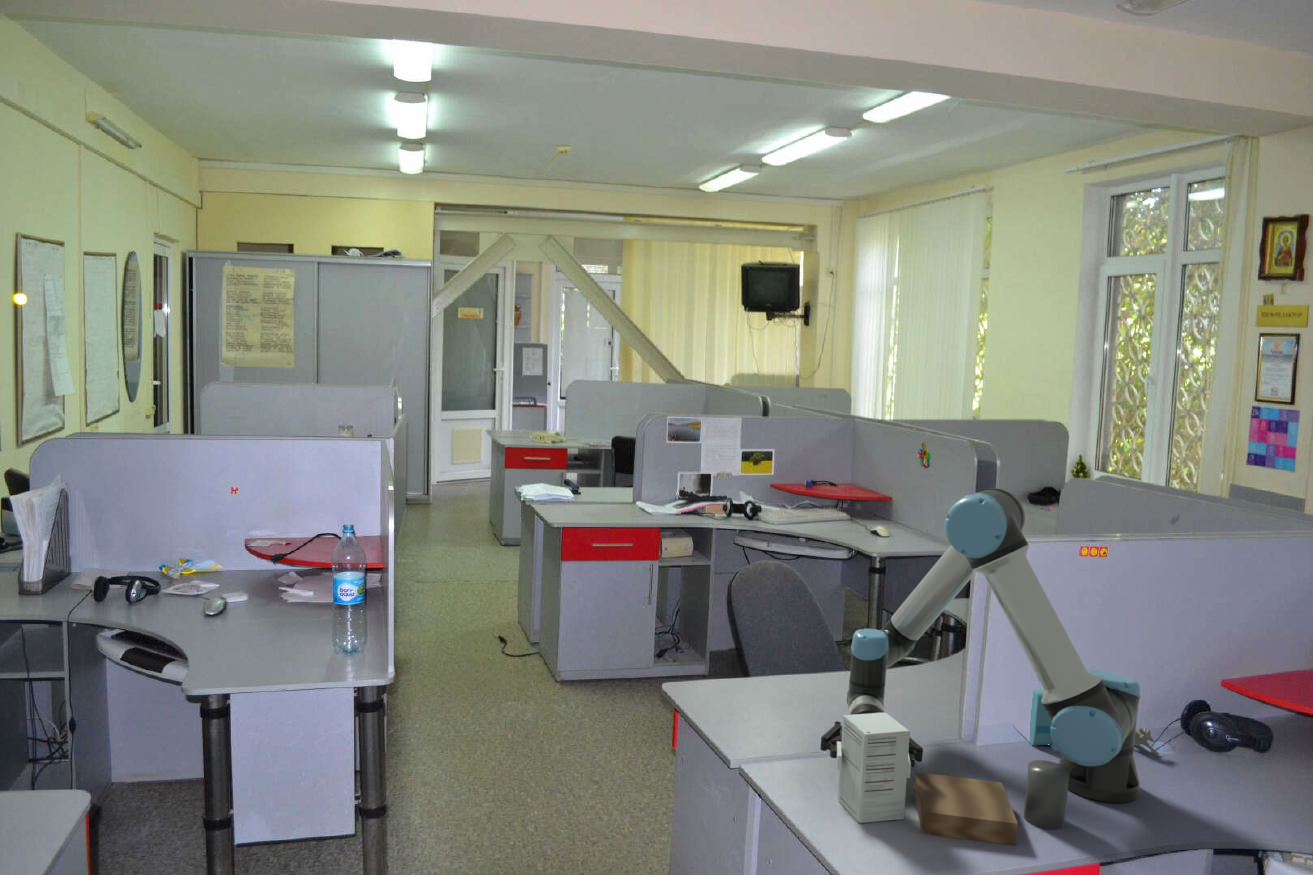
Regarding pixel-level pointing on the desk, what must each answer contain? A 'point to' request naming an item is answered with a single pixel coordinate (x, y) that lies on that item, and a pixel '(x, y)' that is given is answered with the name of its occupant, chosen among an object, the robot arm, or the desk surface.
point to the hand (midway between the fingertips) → (873, 766)
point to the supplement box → (873, 767)
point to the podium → (964, 808)
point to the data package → (1039, 721)
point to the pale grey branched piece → (1144, 739)
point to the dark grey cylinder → (1046, 794)
